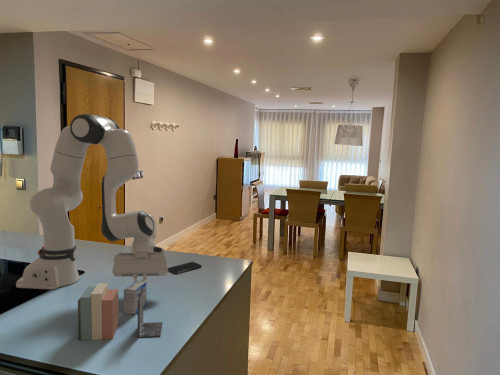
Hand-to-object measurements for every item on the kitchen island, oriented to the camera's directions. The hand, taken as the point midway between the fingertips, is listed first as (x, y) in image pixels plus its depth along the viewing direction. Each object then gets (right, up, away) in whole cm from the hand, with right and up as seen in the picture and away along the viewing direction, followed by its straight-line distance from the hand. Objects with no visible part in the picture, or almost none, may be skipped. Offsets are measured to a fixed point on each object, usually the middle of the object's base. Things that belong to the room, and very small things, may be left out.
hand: (139, 286), depth 132 cm
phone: (+11, -2, +35) cm, 36 cm away
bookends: (+2, -8, -22) cm, 24 cm away
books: (-5, -8, -23) cm, 25 cm away
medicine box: (+1, -6, -7) cm, 10 cm away
